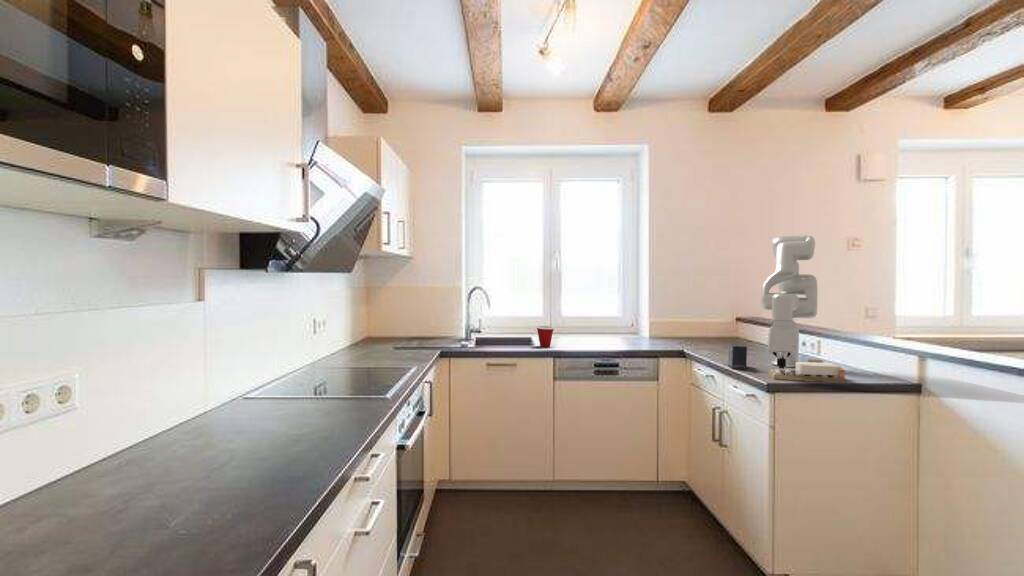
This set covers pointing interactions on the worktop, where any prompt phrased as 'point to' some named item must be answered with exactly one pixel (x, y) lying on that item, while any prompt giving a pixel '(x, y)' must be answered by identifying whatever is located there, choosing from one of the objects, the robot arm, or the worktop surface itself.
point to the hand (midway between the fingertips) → (781, 367)
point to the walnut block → (814, 360)
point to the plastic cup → (545, 335)
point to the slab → (817, 368)
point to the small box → (737, 356)
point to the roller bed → (808, 376)
